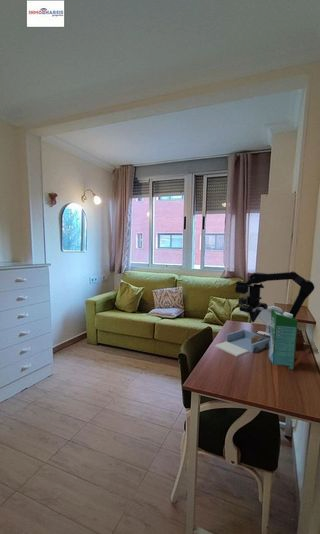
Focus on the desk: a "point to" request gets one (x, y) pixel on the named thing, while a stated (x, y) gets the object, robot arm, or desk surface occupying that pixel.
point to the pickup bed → (247, 340)
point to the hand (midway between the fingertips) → (252, 322)
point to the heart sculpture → (267, 317)
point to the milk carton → (282, 338)
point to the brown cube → (256, 339)
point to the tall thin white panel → (231, 348)
